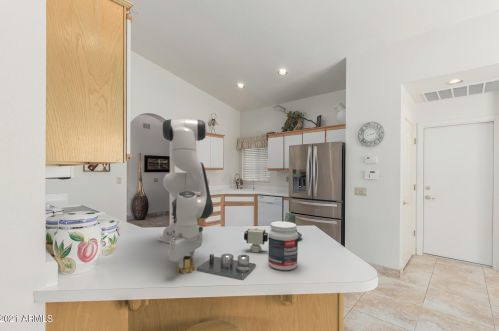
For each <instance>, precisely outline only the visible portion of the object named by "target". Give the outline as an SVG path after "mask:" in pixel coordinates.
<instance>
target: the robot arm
mask: <svg viewBox="0 0 499 331" xmlns="http://www.w3.org/2000/svg"><path fill="white" fill-rule="evenodd" d="M207 133H208V127H207V124H206V122H205V121H204V120H201V119H192V118H183V119H182V118H180V119H178V118H177V119H171V118H170V119H166V120H164V121H163V122H162V125H161V134H162V136H163V138H164V139H165V141H169V142H172V143H171V159H172V163H173V165H174V166H175V167H176V168H177V169H179V170H181V171H182V172H178V171H177V172H174V171H173V172H170V173H166V174H165V175H164V177H163V179H162V186H163V188H164V189H165V190H166V191H167V192H168V193H169V194H170V195H171V196H172V197H173V198H172V199H173V201H172V202H171V220H172V223H170V224H169V225H167V226H166V227H165V228H164V230H163V232H162V235H161V236H160V237H159V238H158V241H159V242H163V243H166V244H169V246H168V259H169V261H170V262H178V266H179V267H181V268H182V267H184V266H185V262H183V259H184V256H192V258H193V259H194V255H195V252H196V250H197V249H199V248H200V247H201V246H202V244H203V231H204V226H202V225H198V219H205V220H207V219H208V218H210V217H211V216H212V214H213V213H214V204H213V200H212V197H211V191H210V187H209V186H210V178H209V177H208V175H207V173H206V168H205V165H204V163H203V162H201V161H200V159H199V158H198V156H197V155H198V154H197V144H196V141H197V142H199V141H203V140H204V139H206V136H207ZM198 192H199V193H200V196H197V193H198Z"/></svg>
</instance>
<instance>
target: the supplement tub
mask: <svg viewBox="0 0 499 331" xmlns="http://www.w3.org/2000/svg"><path fill="white" fill-rule="evenodd" d="M296 229H298V228H297V224H296V223H295V224H294V223H291V222H284V221H280V220H278V221H272V222H271V223H270V230H269V232H268V238H269V240H268V249H267V250H268V251H267V252H268V257H267V260H268V261H267V262H268V265H269V266H270V267H271V268H273V269H276V270H281V271H289V270H293V269H295V268H297V266H298V248H299V239H298V233H297V232H298V231H297V232H296Z"/></svg>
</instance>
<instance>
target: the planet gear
mask: <svg viewBox="0 0 499 331" xmlns="http://www.w3.org/2000/svg"><path fill="white" fill-rule="evenodd" d="M193 261H194V257H193V258H192V256H189V255H186V256H184V259H183V262H185V266H184V267H182V268H181V267H179V265H176V272H177V273H178V272H179V273H182V272H183V273H185V274H186V273H193V271H196V269H197V267H196V265H195V263H193ZM183 273H182V274H183Z"/></svg>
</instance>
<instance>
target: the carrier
mask: <svg viewBox="0 0 499 331" xmlns="http://www.w3.org/2000/svg"><path fill="white" fill-rule="evenodd" d="M256 267H257V264H256V263H254V262H250V256H249V255H248V254H239V255H237V260H236V259H234V255H233V254H231V253H223V254H221V255H220V257H219V256H218V257H217V256H215V255H214V254H213V253H211V254H209V259H207V260H206V261H204V262H203V263H202V264H200V265H199V266H197V267H196V272H202V273H205V274H206V273H207V274H212V275H217V276H222V277H225V278H230V279H231V278H232V279H236V280H241V281H244V279H246V278H247V277H248V276H249V275H250V274H251V273H252V272H253V270H254V269H255V268H256Z"/></svg>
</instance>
